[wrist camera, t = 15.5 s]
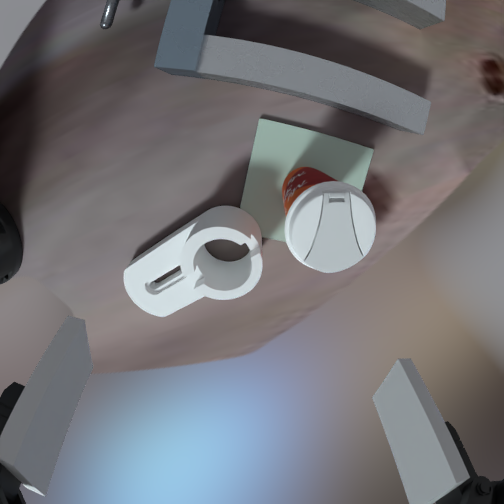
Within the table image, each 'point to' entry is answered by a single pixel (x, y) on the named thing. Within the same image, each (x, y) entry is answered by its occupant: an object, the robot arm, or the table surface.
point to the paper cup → (326, 220)
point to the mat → (290, 158)
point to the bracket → (196, 263)
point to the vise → (288, 62)
